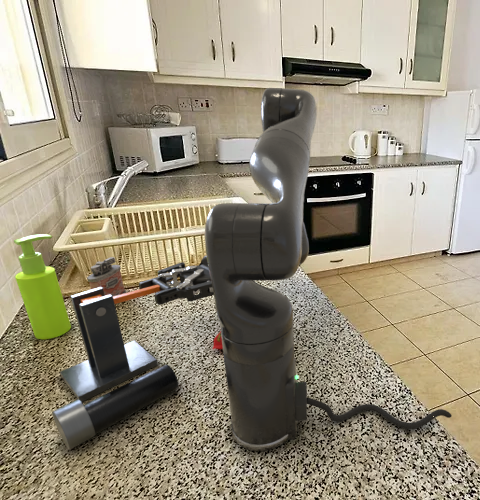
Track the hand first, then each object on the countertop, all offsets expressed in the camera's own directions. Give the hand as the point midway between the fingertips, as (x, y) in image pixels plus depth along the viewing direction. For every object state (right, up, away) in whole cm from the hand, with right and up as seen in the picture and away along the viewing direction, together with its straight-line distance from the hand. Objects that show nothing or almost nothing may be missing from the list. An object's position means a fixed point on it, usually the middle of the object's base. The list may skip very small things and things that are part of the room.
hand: (148, 293), depth 67 cm
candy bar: (+13, -9, +11) cm, 19 cm away
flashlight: (+2, -17, -10) cm, 20 cm away
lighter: (-20, -4, +21) cm, 30 cm away
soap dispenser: (-24, -9, +9) cm, 27 cm away
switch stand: (-6, -13, -2) cm, 15 cm away
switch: (-2, -1, -2) cm, 3 cm away
